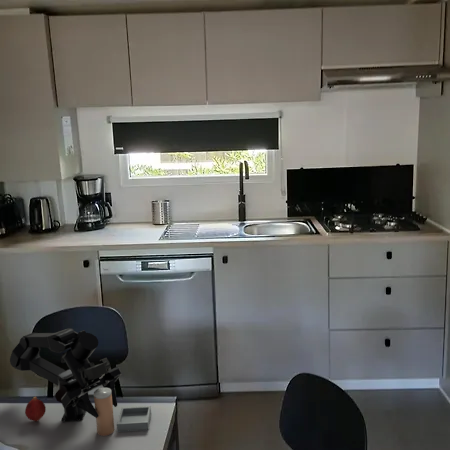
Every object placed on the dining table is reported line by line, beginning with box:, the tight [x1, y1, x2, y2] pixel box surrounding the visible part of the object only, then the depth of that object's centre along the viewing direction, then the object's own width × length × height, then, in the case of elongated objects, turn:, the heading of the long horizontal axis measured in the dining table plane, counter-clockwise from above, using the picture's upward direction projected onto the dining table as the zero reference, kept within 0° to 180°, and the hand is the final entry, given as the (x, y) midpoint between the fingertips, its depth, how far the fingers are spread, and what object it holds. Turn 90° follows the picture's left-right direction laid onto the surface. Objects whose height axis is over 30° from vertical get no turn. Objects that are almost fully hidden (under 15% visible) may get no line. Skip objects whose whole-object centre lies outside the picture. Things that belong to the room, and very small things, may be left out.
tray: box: [116, 405, 152, 433], centre depth 153 cm, size 9×9×2 cm
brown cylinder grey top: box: [93, 387, 116, 437], centre depth 148 cm, size 5×5×12 cm
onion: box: [24, 396, 47, 422], centre depth 155 cm, size 6×6×8 cm
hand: (107, 411), depth 147 cm, fingers open, 7 cm apart
